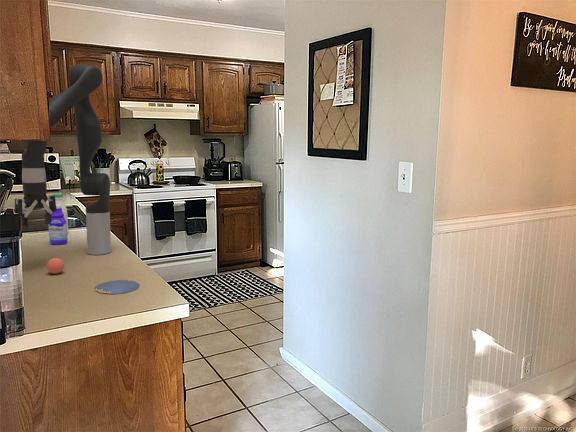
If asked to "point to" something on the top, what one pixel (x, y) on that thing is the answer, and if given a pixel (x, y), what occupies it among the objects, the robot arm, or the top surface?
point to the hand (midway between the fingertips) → (37, 225)
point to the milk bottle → (60, 202)
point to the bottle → (58, 227)
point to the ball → (55, 265)
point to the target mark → (118, 286)
